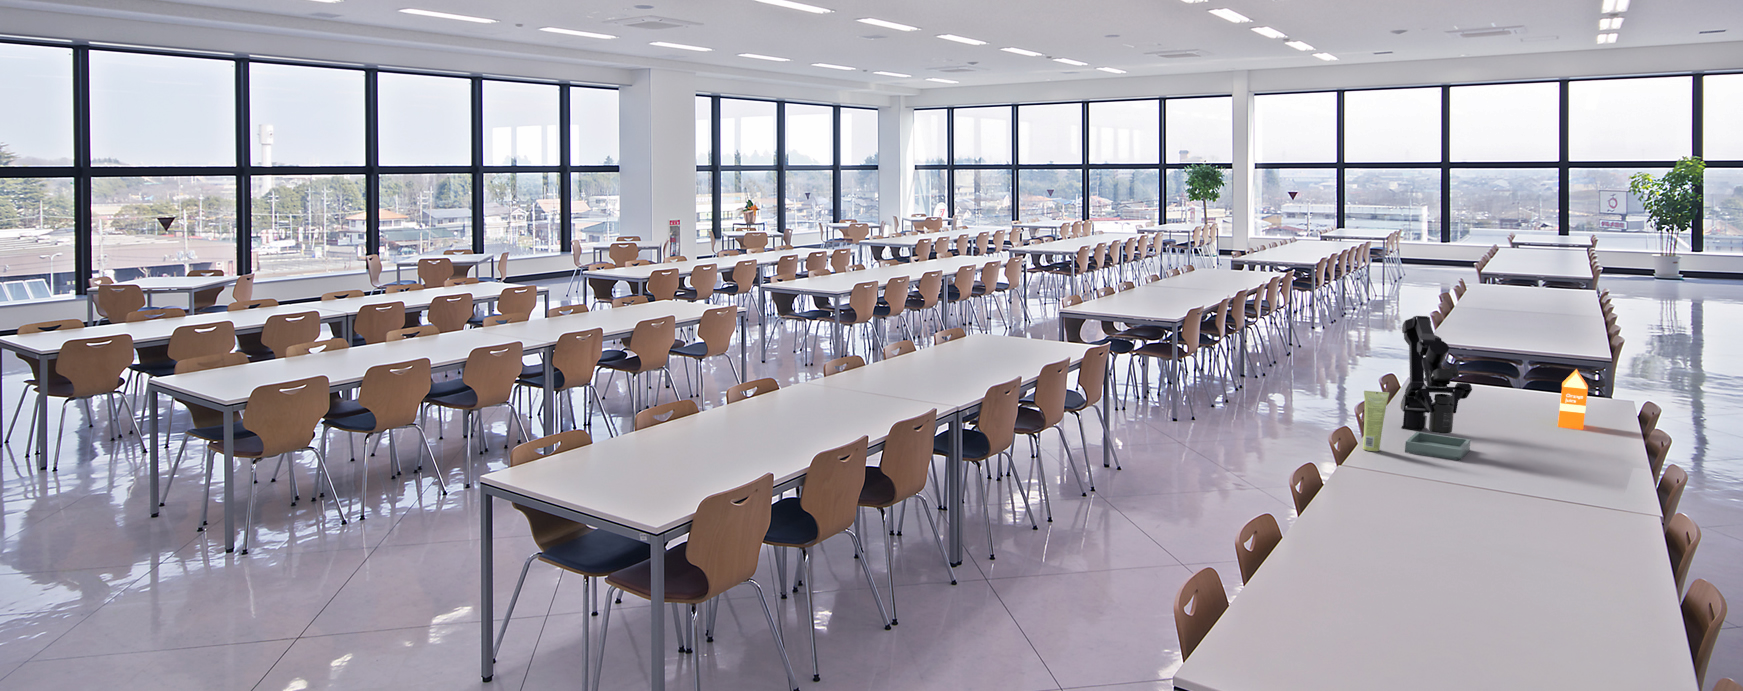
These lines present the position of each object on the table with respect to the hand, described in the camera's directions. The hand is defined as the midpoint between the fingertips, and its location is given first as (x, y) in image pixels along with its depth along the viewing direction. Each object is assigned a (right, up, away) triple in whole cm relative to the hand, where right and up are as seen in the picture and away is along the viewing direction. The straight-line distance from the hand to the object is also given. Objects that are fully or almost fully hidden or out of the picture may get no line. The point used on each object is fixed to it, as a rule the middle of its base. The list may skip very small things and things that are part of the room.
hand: (1443, 412), depth 348 cm
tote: (0, -13, +4) cm, 13 cm away
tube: (-21, -13, +5) cm, 25 cm away
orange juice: (+65, -7, +37) cm, 75 cm away
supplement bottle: (0, -6, +3) cm, 7 cm away
